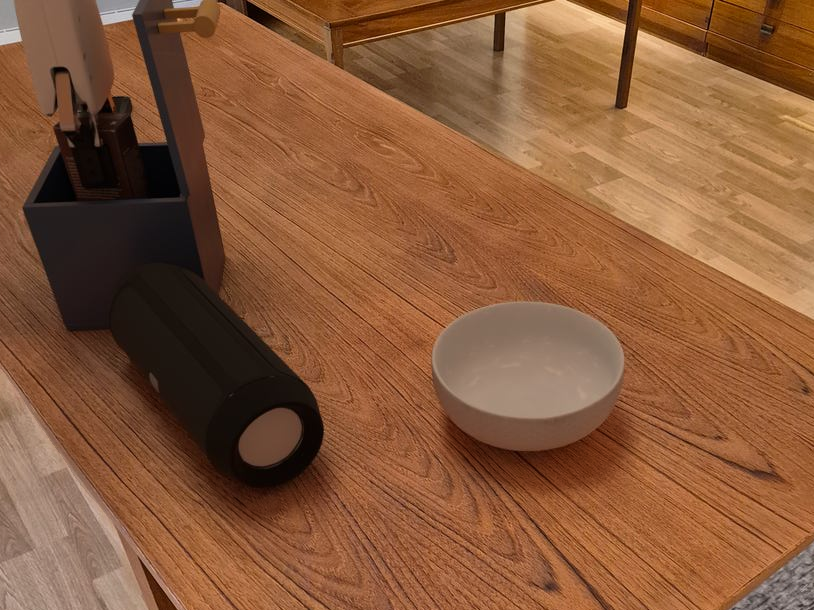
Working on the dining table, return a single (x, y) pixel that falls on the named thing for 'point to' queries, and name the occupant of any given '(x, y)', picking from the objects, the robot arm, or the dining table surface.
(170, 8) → the lid
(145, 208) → the chest
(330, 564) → the dining table surface
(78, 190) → the box
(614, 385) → the cereal bowl
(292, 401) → the portable speaker
